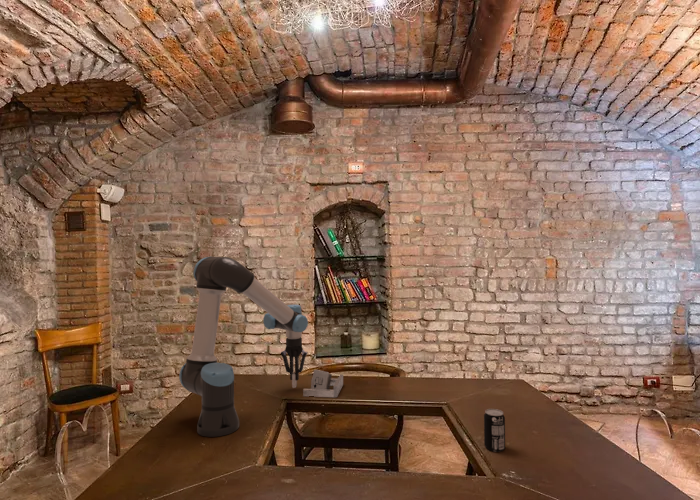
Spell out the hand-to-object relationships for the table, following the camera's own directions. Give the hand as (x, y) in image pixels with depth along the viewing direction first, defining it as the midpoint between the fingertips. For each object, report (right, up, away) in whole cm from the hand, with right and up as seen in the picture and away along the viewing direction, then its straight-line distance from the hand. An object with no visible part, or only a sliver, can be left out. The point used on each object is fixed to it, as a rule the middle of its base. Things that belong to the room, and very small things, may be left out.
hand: (294, 386), depth 207 cm
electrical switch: (+13, -1, -1) cm, 13 cm away
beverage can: (+74, -1, -63) cm, 97 cm away
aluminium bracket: (+13, -1, -2) cm, 14 cm away
